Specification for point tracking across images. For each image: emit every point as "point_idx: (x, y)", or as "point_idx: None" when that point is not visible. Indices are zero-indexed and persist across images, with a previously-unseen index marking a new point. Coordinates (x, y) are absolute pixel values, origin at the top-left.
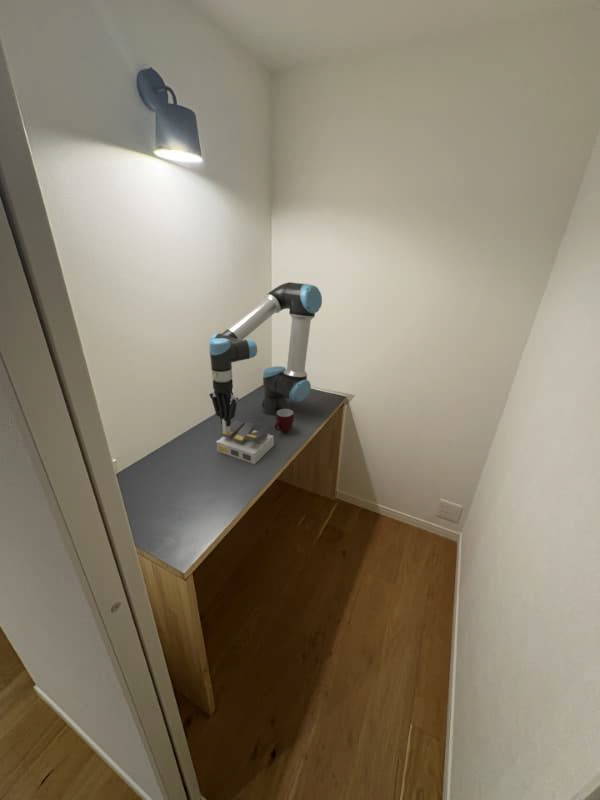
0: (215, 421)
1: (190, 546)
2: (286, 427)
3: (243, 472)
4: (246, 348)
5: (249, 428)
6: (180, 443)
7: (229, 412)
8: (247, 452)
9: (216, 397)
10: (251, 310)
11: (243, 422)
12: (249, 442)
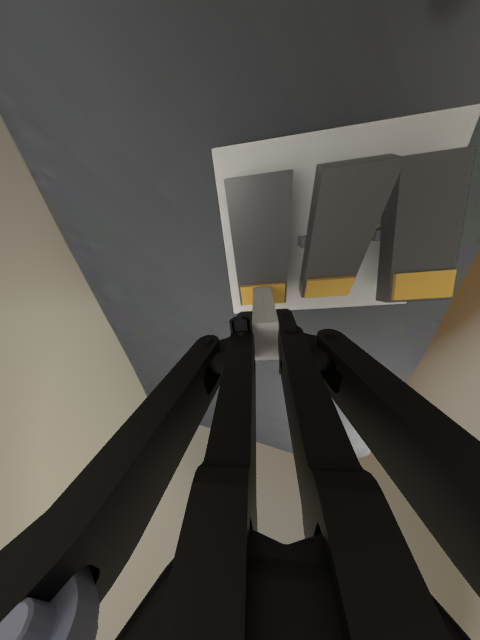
0: (43, 132)
1: (356, 444)
2: None
3: (361, 326)
4: None
5: (366, 213)
6: (127, 320)
7: (351, 418)
8: (374, 304)
9: (91, 554)
10: None
11: (291, 173)
12: None
